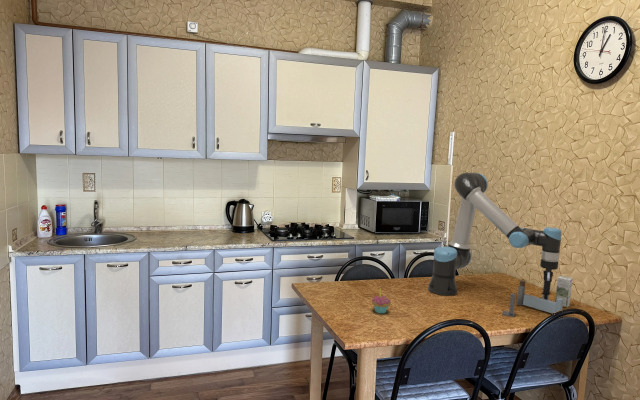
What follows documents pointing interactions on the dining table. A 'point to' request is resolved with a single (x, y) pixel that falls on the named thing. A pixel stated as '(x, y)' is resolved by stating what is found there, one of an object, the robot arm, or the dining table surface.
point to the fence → (522, 283)
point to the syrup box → (564, 289)
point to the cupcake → (381, 303)
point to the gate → (538, 302)
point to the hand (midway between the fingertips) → (544, 307)
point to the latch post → (511, 310)
